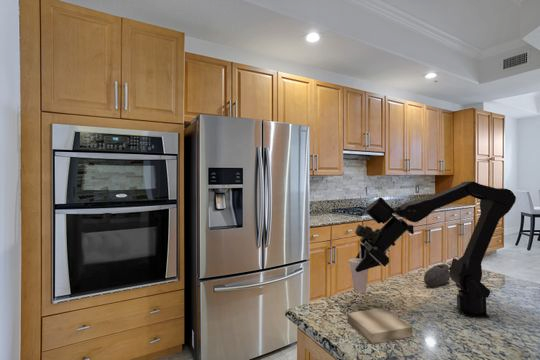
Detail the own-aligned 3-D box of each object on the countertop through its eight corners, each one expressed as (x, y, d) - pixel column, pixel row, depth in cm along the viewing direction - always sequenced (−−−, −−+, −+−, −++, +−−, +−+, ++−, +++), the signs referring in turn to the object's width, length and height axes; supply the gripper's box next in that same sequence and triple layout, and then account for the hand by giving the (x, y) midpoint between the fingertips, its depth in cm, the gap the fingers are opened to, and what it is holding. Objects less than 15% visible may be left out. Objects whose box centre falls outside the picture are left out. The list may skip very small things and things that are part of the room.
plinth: (383, 316, 86) (382, 307, 86) (412, 336, 74) (412, 326, 74) (347, 321, 82) (347, 313, 83) (372, 344, 71) (372, 333, 71)
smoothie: (371, 294, 88) (370, 249, 88) (350, 293, 89) (348, 248, 90) (369, 288, 94) (367, 245, 95) (349, 287, 95) (347, 245, 96)
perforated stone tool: (431, 290, 105) (431, 271, 105) (418, 286, 110) (417, 268, 110) (454, 283, 112) (453, 265, 112) (440, 279, 117) (440, 262, 117)
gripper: (364, 213, 101) (334, 244, 102) (375, 219, 82) (338, 257, 84) (389, 235, 100) (357, 266, 101) (405, 247, 81) (367, 285, 83)
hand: (354, 268), depth 92 cm, fingers closed on smoothie, 6 cm apart
